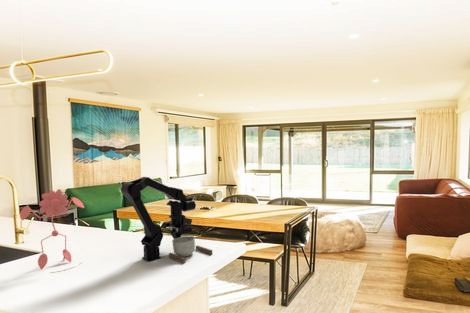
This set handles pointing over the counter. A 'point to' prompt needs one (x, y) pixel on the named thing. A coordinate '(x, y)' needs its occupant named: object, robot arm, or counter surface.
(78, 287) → the counter surface
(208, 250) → the guide rails
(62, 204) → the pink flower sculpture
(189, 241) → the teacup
